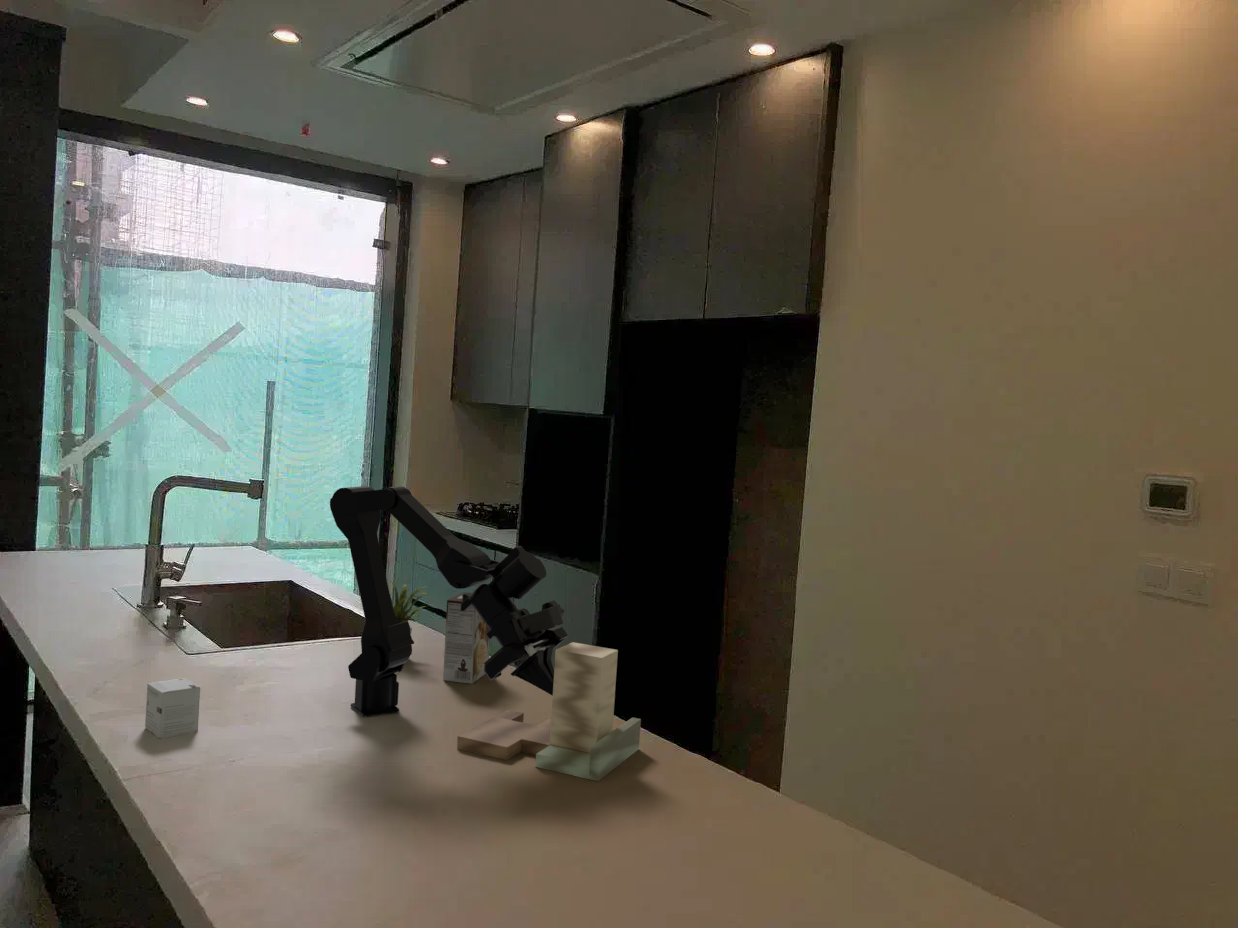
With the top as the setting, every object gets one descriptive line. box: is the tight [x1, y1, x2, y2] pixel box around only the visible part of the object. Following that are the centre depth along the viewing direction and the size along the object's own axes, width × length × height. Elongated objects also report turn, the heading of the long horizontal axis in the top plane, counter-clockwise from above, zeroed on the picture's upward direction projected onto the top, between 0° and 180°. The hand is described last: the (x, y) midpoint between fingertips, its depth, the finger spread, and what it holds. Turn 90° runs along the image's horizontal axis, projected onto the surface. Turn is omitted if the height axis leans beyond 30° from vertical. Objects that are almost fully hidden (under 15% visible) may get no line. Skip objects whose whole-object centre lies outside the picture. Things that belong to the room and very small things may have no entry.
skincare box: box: [144, 677, 201, 739], centre depth 154 cm, size 6×6×7 cm
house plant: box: [390, 579, 430, 635], centre depth 204 cm, size 14×14×16 cm
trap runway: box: [456, 709, 642, 782], centre depth 156 cm, size 24×16×5 cm, turn 67°
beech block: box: [550, 641, 619, 753], centre depth 154 cm, size 8×6×15 cm
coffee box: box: [442, 591, 491, 685], centre depth 193 cm, size 9×6×16 cm
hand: (557, 694), depth 156 cm, fingers closed
